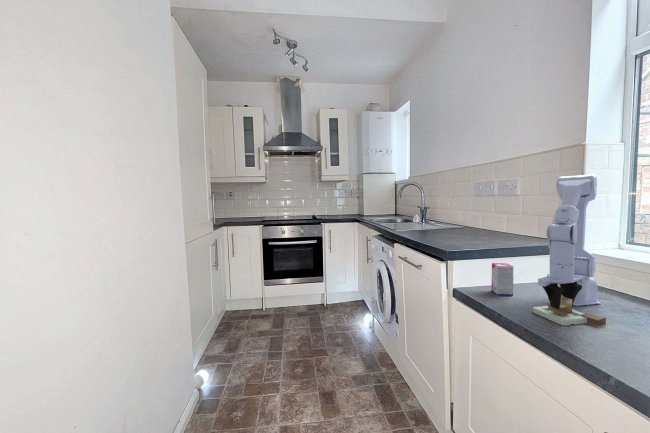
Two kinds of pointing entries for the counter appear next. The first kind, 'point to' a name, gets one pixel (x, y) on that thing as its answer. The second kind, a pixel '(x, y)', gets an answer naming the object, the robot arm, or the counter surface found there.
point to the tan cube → (562, 306)
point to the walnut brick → (594, 319)
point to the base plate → (560, 316)
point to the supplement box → (502, 279)
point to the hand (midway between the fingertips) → (561, 306)
